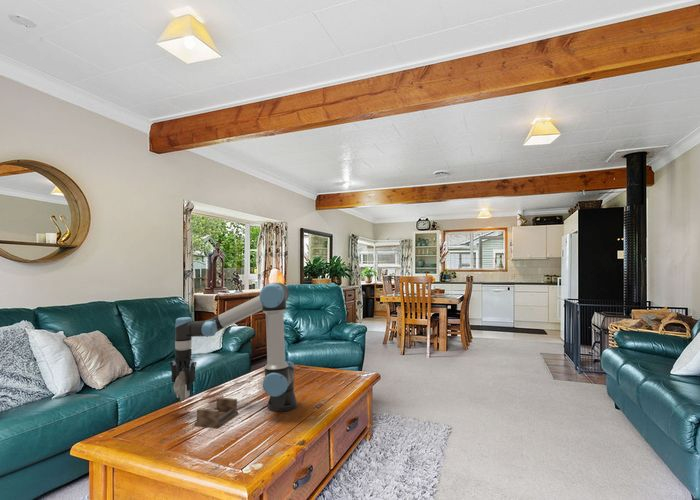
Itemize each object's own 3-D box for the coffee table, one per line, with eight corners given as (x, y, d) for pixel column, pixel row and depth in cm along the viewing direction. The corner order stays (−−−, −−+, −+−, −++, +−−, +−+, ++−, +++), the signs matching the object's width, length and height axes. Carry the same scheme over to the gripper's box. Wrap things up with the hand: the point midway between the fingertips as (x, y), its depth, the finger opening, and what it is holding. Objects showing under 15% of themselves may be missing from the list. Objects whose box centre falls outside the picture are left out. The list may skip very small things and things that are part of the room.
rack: (238, 414, 188) (238, 399, 189) (218, 428, 171) (218, 411, 171) (216, 412, 191) (217, 397, 191) (194, 425, 173) (195, 409, 174)
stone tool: (178, 404, 182) (176, 372, 183) (172, 404, 183) (170, 372, 184) (194, 397, 192) (192, 367, 193) (188, 397, 193) (187, 367, 195)
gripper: (203, 347, 191) (202, 395, 190) (173, 347, 195) (173, 393, 193) (193, 350, 184) (193, 400, 183) (163, 350, 188) (162, 398, 186)
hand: (183, 396), depth 188 cm, fingers closed on stone tool, 4 cm apart
